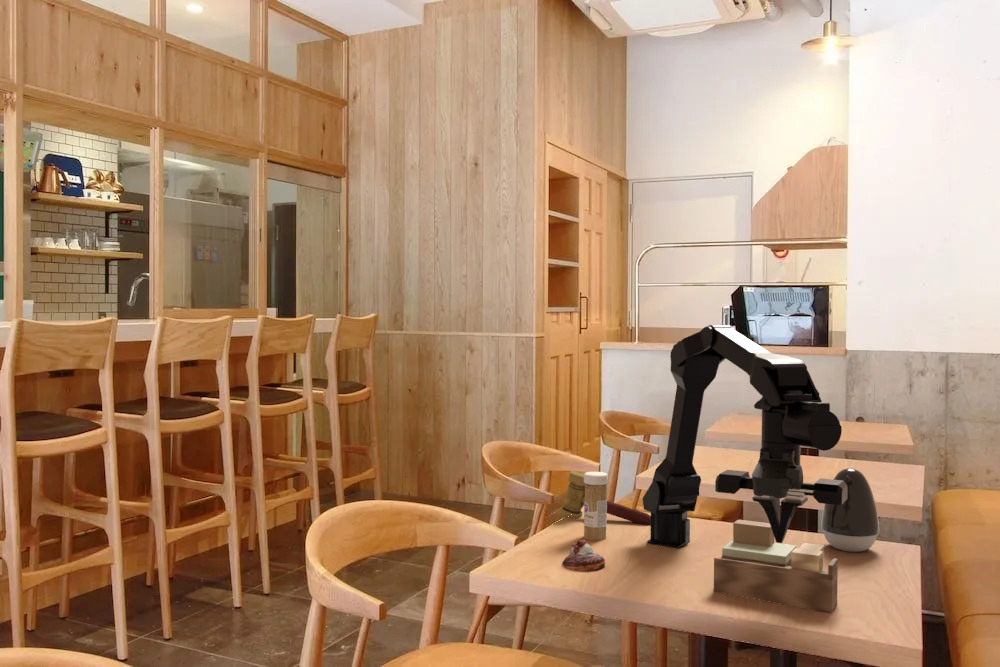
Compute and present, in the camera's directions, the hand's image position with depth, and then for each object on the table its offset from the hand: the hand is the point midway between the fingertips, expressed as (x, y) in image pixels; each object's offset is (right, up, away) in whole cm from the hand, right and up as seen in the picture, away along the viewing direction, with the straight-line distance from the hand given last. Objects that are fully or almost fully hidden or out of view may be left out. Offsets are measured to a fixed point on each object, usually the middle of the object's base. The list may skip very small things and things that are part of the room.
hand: (779, 542), depth 135 cm
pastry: (-28, -9, +16) cm, 34 cm away
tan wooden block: (+5, -4, 0) cm, 6 cm away
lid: (-1, -4, +8) cm, 9 cm away
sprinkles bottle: (-25, -9, +35) cm, 43 cm away
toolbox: (+2, -9, +4) cm, 10 cm away
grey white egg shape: (+23, -9, +31) cm, 40 cm away
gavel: (-21, -10, +50) cm, 55 cm away
